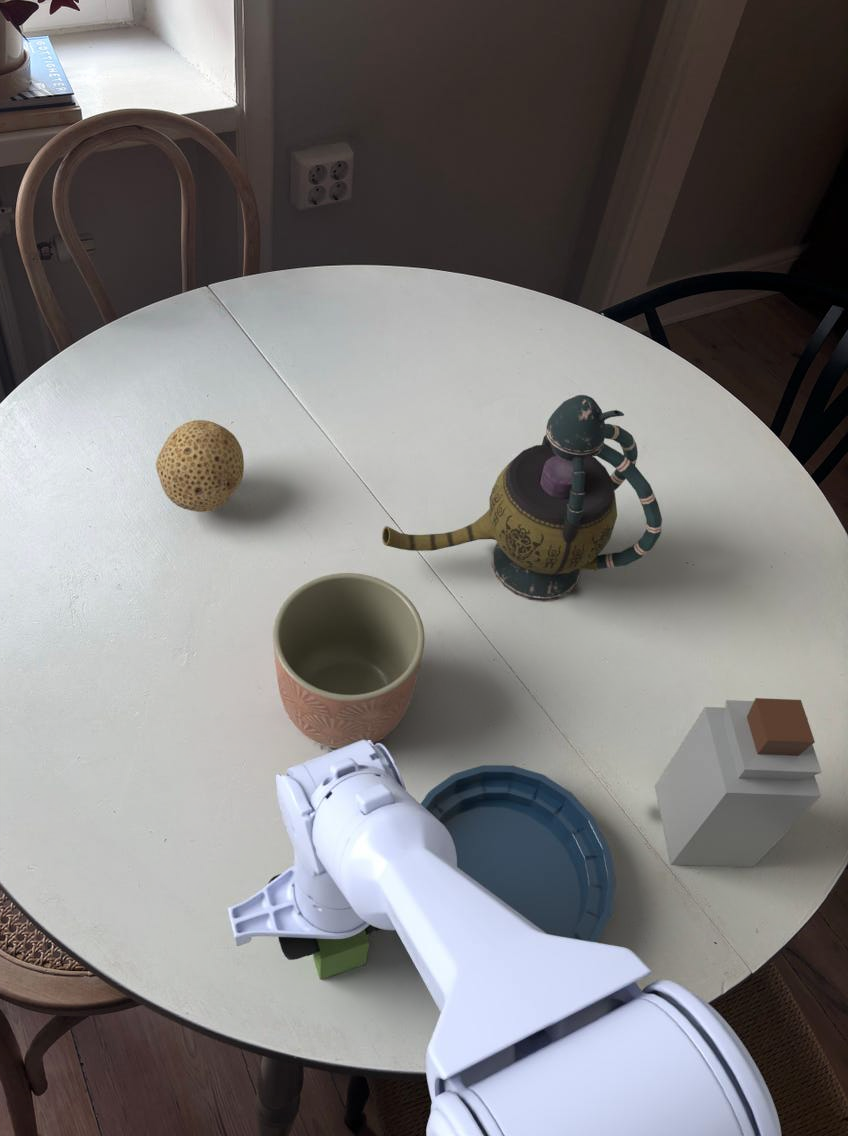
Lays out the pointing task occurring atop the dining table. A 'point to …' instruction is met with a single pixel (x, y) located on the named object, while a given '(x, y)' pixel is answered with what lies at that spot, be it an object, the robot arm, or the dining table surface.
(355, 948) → the scrub pad
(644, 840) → the dining table surface
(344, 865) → the robot arm
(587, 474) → the teapot
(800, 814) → the perfume bottle
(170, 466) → the natural sponge
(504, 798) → the bowl
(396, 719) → the planter
